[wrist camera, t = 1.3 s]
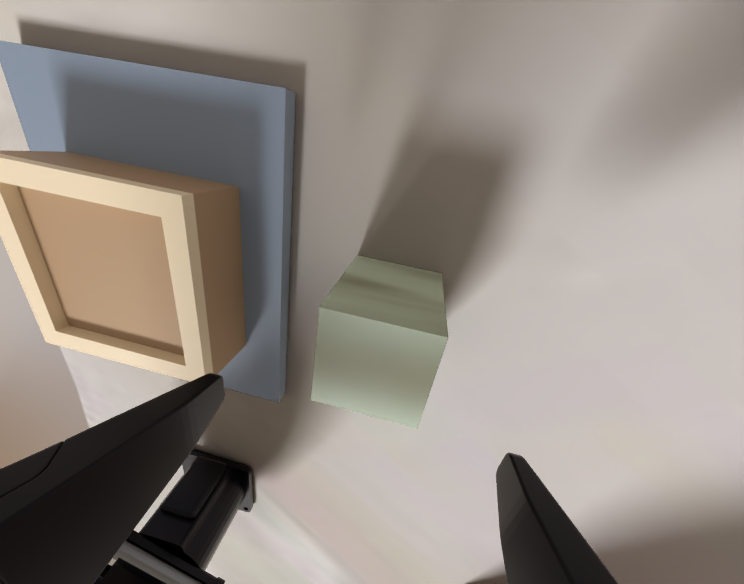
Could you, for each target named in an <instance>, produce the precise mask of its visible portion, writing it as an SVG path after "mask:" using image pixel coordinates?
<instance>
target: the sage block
mask: <svg viewBox="0 0 744 584" xmlns="http://www.w3.org/2000/svg"><path fill="white" fill-rule="evenodd" d="M447 340H448V330H447V320H446V310H445V301H444V291H443V281H442V273H437V272H433V271H428V270H424V269H419V268H414V267H410V266H405V265H401V264H396V263H391V262H387V261H382V260H377V259H373V258H368V257H364V256H359V255H357V257H356V258H355V259H354V261H353V262H352V263H351V265H350V266H349V268H348V269H347V270H346V272H345V273H344V274H343V276H342V277H341V278H340V280H339V281H338V282H337V284H336V285H335V286H334V288H333V289H332V291H331V292H330V293H329V295H328V296H327V297H326V299H325V300H324V301H323V303H322V304H321V305H320V307H319V315H318V326H317V337H316V348H315V359H314V370H313V381H312V392H311V400H312V401H316V402H320V403H324V404H327V405H331V406H335V407H338V408H342V409H346V410H350V411H353V412H357V413H361V414H365V415H368V416H372V417H376V418H379V419H383V420H387V421H391V422H394V423H398V424H402V425H405V426H409V427H413V428H418V425H419V422H420V419H421V416H422V413H423V411H424V408H425V405H426V402H427V399H428V396H429V393H430V390H431V387H432V384H433V381H434V378H435V375H436V372H437V369H438V366H439V364H440V361H441V358H442V355H443V352H444V349H445V346H446V343H447Z"/></svg>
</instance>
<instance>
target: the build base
mask: <svg viewBox="0 0 744 584" xmlns="http://www.w3.org/2000/svg"><path fill="white" fill-rule="evenodd" d="M0 63H1V66H2V69H3V72H4V75H5V78H6V81H7V84H8V87H9V90H10V93H11V96H12V99H13V102H14V105H15V108H16V111H17V114H18V117H19V120H20V123H21V126H22V128H23V131H24V134H25V137H26V140H27V143H28V146H29V149H30V151H0V236H1V238H2V240H3V243H4V245H5V247H6V250H7V252H8V254H9V257H10V259H11V262H12V264H13V266H14V269H15V271H16V273H17V276H18V278H19V280H20V283H21V285H22V287H23V290H24V292H25V294H26V297H27V299H28V301H29V303H30V306H31V308H32V310H33V313H34V315H35V318H36V320H37V322H38V325H39V327H40V330H41V332H42V334H43V337H44V339H45V341H46V342H48V343H52V344H55V345H58V346H62V347H66V348H69V349H73V350H77V351H80V352H84V353H88V354H91V355H95V356H99V357H102V358H106V359H110V360H113V361H117V362H121V363H124V364H128V365H132V366H135V367H139V368H143V369H146V370H150V371H154V372H157V373H161V374H165V375H168V376H172V377H176V378H179V379H183V380H187V381H190V382H191V381H193V380H195V379H197V378H199V377H201V376H203V375H206V374H208V373H214V374H217V375H221V376H222V377H223V381H224V388H226V389H230V390H234V391H238V392H241V393H245V394H249V395H252V396H256V397H260V398H263V399H267V400H271V401H274V402H278V403H279V401H280V400H281V398H282V396H283V395H284V393H285V384H286V355H287V327H288V298H289V270H290V241H291V213H292V185H293V156H294V128H295V99H296V93H295V92H293V91H291V90H289V89H287V88H283V87H277V86H271V85H265V84H259V83H253V82H247V81H241V80H234V79H228V78H222V77H216V76H210V75H204V74H198V73H192V72H186V71H180V70H174V69H168V68H162V67H156V66H150V65H144V64H138V63H132V62H126V61H120V60H114V59H108V58H102V57H96V56H90V55H84V54H78V53H72V52H66V51H60V50H54V49H48V48H42V47H36V46H30V45H24V44H18V43H12V42H6V41H0Z"/></svg>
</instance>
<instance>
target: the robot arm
mask: <svg viewBox="0 0 744 584" xmlns="http://www.w3.org/2000/svg"><path fill="white" fill-rule="evenodd" d="M224 395H225V392H224V381H223V377H222V376H221V375H217V374H214V373H208V374H206V375H203V376H201V377H199V378H197V379H195V380H193V381H191V382H188V383H186V384H184V385H182V386H180V387H178V388H175V389H173V390H171V391H169V392H167V393H165V394H163V395H160V396H158V397H156V398H154V399H152V400H150V401H148V402H145V403H143V404H141V405H139V406H137V407H135V408H132V409H130V410H128V411H126V412H124V413H122V414H120V415H117V416H115V417H113V418H111V419H109V420H107V421H105V422H102V423H100V424H98V425H96V426H94V427H92V428H89V429H87V430H85V431H83V432H81V433H79V434H77V435H75V436H72V437H70V438H68V439H66V440H65V441H64V442H63V441H62V442H59V443H57V444H55V445H53V446H51V447H48V448H46V449H44V450H42V451H40V452H38V453H35V454H33V455H31V456H29V457H26V458H24V459H22V460H20V461H18V462H15V463H13V464H11V465H8V466H6V467H4V468H1V469H0V584H224V583H225V580H223V579H221V578H220V577H218V578H216V577H214V576H213V575H211V574H209V573H207V572H206V571H205V570H206V568H207V566H208V564H209V562H210V560H211V559H212V557H213V555H214V553H215V551H216V549H217V547H218V546H219V544H220V542H221V540H222V538H223V536H224V535H225V533H226V531H227V529H228V527H229V525H230V524H231V522H232V520H233V518H234V516H235V514H236V513H237V511H238V509H239V510H242V511H246V512H250V511H251V509H252V507H253V493H252V471H251V469H250V468H249V467H247V466H245V465H241V464H238V463H234V462H231V461H228V460H224V459H221V458H218V457H214V456H211V455H207V454H204V453H201V452H197V451H194V450H193V448H194V447H195V445H196V444H197V442H198V441H199V439H200V438H201V436H202V434H203V433H204V431H205V429H206V428H207V426H208V424H209V423H210V421H211V419H212V418H213V416H214V415H215V413H216V411H217V410H218V408H219V406H220V405H221V403H222V401H223V399H224ZM181 465H183V469H184V475H183V476H182V477H181V479H180V480H179V481H178V482H177V484H176V485H175V486H174V488H173V489H172V490H171V491H170V493H169V494H168V495H167V497H166V498H165V499H164V500H163V502H162V503H161V505H160V506H159V508H158V509H157V510H156V511H155V513H154V514H153V515H152V517H151V518H150V519H149V520H148V522H147V523H146V524H145V526H144V527H143V528H142V529H141V531H140V532H139V533H138V532H136V531H134V528H135V527H136V525H137V524H138V523H139V521H140V520H141V519H142V517H143V516H144V515H145V513H146V512H147V511H148V509H149V508H150V507H151V505H152V504H153V503H154V501H155V500H156V499H157V497H158V496H159V494H160V493H161V492H162V490H163V489H164V488H165V486H166V485H167V484H168V482H169V481H170V480H171V478H172V477H173V476H174V474H175V473H176V472H177V470H178V469H179V468H180V466H181ZM496 483H497V497H498V512H499V527H500V538H501V545H502V551H503V557H504V564H505V570H506V576H507V582H508V584H618V583H617V581H616V580H615V579H614V577H613V576H612V575H611V573H610V572H609V571H608V569H607V568H606V567H605V565H604V564H603V563H602V561H601V560H600V559H599V557H598V556H597V555H596V553H595V552H594V551H593V549H592V548H591V547H590V545H589V544H588V543H587V541H586V540H585V539H584V537H583V536H582V535H581V533H580V532H579V531H578V529H577V528H576V527H575V525H574V524H573V523H572V521H571V520H570V519H569V517H568V516H567V515H566V513H565V512H564V511H563V509H562V508H561V507H560V505H559V504H558V503H557V501H556V500H555V499H554V497H553V496H552V495H551V493H550V492H549V491H548V489H547V488H546V487H545V485H544V484H543V483H542V481H541V480H540V479H539V477H538V476H537V475H536V473H535V472H534V471H533V469H532V468H531V467H530V465H529V464H528V463H527V461H526V460H525V459H524V458H523V457H522V456H520V455H516V454H513V453H507V454H506V455H505V457H504V458H503V460H502V462H501V464H500V465H499V467H498V469H497V473H496ZM112 558H113V559H115V560H116V562H115V563H114V564H113V565H112V566H110V565H109V564H108V563H109V562H110V560H111V559H112Z"/></svg>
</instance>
